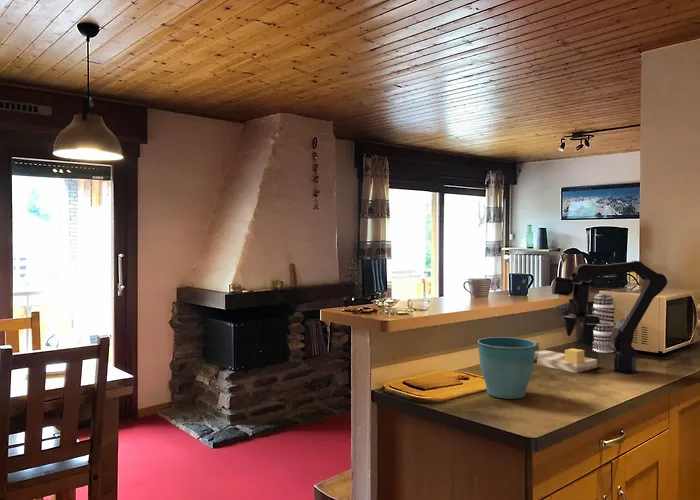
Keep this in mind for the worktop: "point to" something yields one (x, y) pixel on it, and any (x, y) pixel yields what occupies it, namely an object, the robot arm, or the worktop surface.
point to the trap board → (561, 361)
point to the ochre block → (574, 356)
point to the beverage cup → (621, 322)
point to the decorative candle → (603, 322)
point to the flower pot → (506, 365)
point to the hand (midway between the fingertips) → (575, 338)
